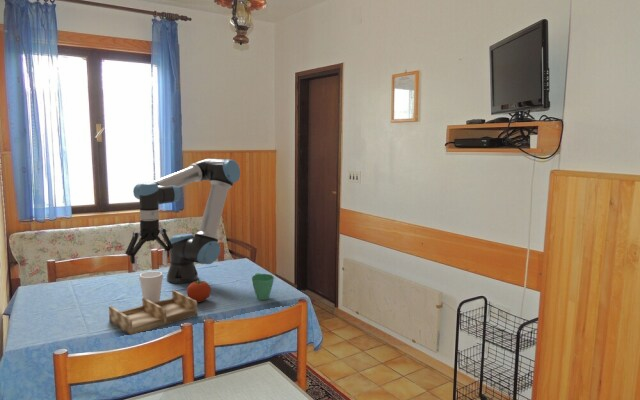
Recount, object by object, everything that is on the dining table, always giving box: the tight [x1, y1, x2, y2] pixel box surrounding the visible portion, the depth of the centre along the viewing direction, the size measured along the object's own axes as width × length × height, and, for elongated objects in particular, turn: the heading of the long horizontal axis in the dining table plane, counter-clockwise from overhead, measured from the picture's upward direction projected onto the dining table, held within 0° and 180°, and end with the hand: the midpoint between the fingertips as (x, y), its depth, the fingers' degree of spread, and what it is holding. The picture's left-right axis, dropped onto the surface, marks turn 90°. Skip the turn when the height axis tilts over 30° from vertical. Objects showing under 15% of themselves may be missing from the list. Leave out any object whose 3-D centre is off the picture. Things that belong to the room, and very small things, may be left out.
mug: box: [251, 272, 275, 301], centre depth 210 cm, size 15×10×10 cm
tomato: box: [186, 279, 212, 303], centre depth 202 cm, size 10×10×10 cm
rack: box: [108, 289, 198, 336], centre depth 183 cm, size 18×28×6 cm, turn 137°
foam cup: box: [138, 270, 164, 303], centre depth 198 cm, size 10×9×13 cm
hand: (150, 267), depth 197 cm, fingers open, 13 cm apart
